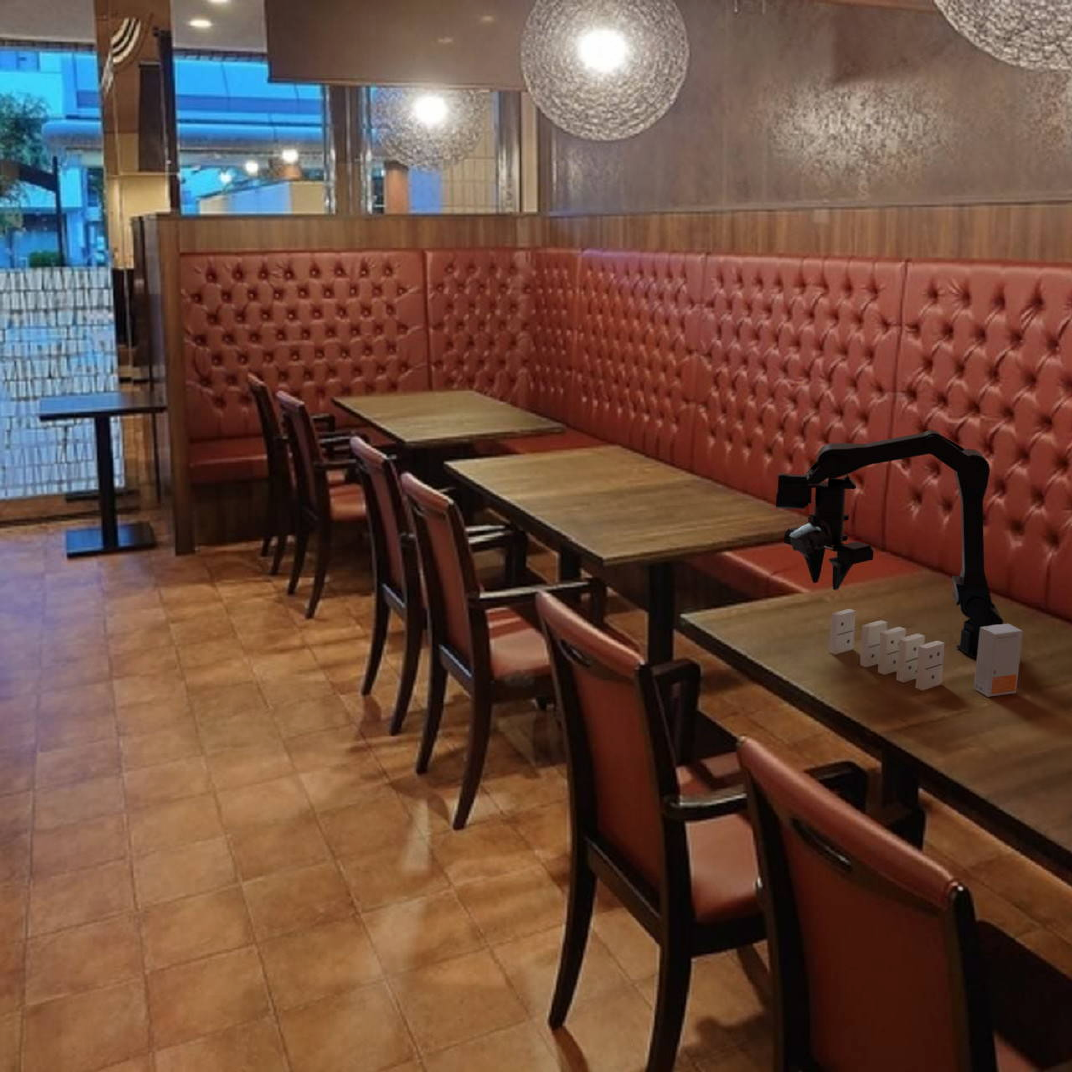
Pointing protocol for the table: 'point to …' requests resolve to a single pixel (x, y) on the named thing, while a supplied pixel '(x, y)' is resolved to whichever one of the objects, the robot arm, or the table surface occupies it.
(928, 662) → the domino
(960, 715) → the table surface
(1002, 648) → the skincare box
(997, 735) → the table surface
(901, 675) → the domino
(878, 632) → the domino
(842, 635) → the domino
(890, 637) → the domino
